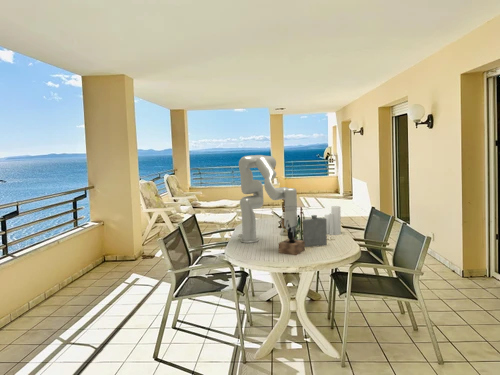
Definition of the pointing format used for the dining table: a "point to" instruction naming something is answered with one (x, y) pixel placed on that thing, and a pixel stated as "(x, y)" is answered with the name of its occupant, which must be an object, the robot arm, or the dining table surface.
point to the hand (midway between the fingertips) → (291, 237)
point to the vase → (334, 221)
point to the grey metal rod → (293, 236)
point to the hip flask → (315, 231)
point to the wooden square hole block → (291, 247)
